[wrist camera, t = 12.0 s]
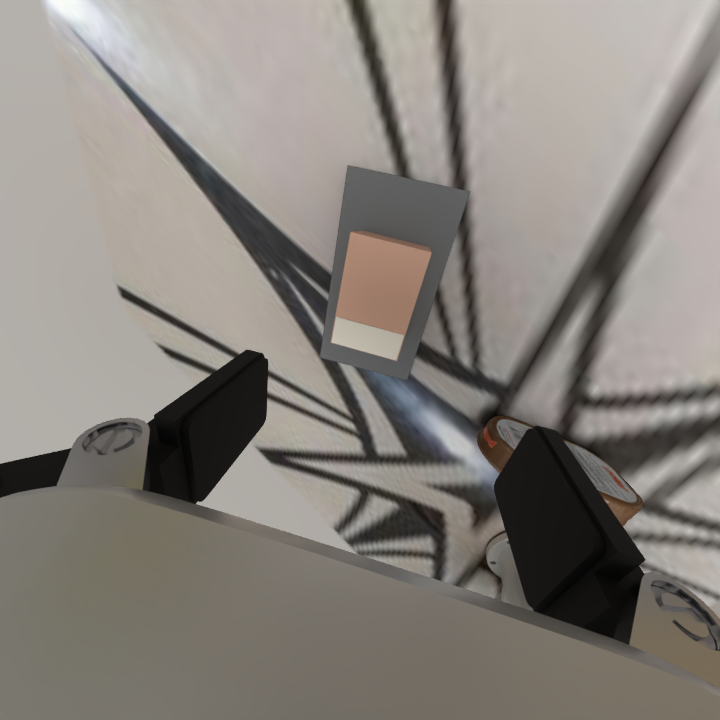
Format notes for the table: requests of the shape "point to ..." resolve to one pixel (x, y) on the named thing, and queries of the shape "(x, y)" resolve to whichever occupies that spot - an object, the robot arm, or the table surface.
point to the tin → (617, 493)
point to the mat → (400, 221)
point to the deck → (378, 293)
